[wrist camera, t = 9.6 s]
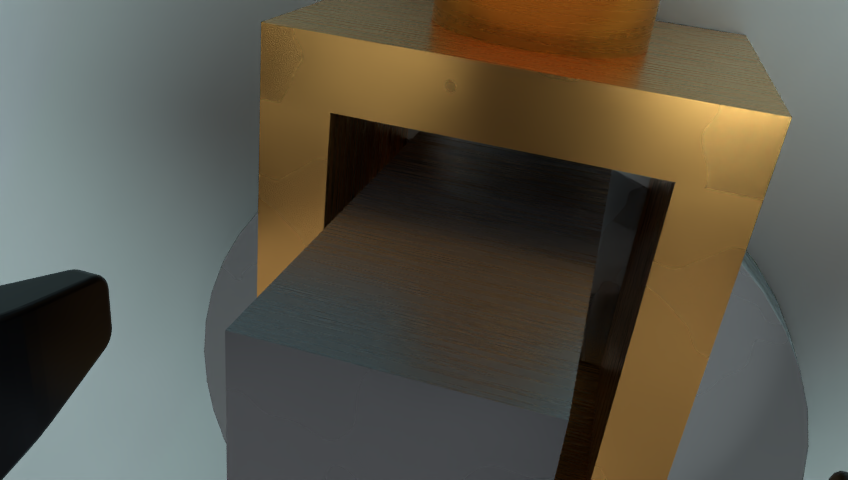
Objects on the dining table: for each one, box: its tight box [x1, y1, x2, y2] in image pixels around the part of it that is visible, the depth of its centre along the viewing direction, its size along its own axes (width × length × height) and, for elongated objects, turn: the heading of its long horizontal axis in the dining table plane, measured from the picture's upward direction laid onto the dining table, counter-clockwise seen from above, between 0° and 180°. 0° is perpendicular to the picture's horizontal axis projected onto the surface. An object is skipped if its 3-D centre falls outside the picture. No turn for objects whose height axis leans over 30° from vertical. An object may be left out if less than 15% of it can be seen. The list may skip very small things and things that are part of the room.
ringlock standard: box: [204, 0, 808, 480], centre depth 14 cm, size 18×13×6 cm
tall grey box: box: [225, 131, 612, 480], centre depth 11 cm, size 4×3×8 cm
